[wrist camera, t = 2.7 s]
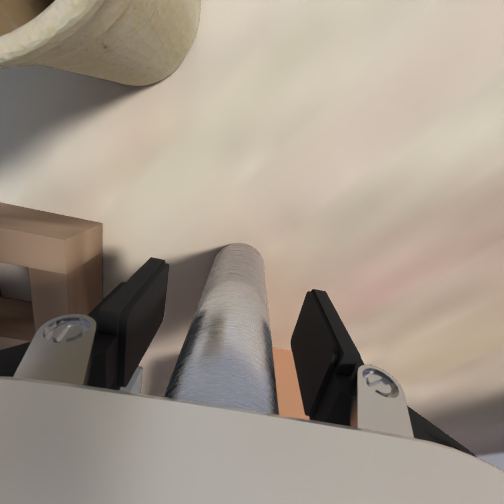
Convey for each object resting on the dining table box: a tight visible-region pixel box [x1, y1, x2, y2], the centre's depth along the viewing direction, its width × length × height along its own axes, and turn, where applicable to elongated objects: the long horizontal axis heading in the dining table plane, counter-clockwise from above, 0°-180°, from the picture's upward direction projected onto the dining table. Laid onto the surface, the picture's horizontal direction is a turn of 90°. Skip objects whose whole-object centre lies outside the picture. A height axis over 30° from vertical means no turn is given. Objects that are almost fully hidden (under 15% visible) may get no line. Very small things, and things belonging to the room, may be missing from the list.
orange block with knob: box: [272, 348, 310, 420], centre depth 15 cm, size 5×5×6 cm
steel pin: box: [164, 243, 279, 415], centre depth 9 cm, size 3×3×12 cm
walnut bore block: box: [0, 203, 102, 350], centre depth 14 cm, size 8×8×3 cm
